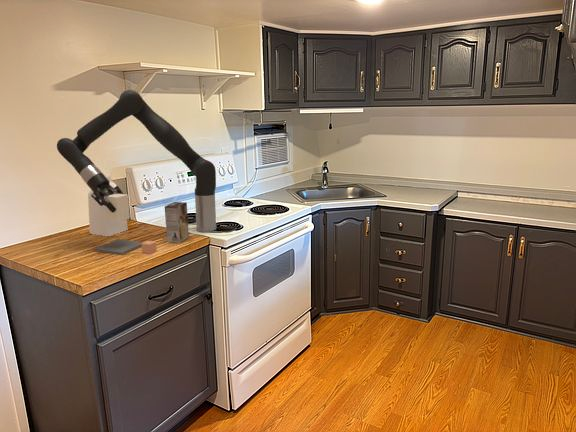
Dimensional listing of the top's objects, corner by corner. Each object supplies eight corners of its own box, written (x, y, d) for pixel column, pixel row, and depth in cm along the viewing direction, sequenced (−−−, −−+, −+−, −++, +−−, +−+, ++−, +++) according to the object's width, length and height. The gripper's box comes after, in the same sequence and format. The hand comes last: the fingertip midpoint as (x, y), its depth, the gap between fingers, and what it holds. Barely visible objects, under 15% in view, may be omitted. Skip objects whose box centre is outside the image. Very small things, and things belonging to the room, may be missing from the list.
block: (142, 252, 177) (141, 243, 176) (148, 250, 181) (147, 240, 180) (150, 254, 176) (149, 244, 175) (156, 251, 180) (155, 241, 179)
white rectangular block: (106, 220, 178) (104, 196, 175) (117, 216, 184) (115, 193, 181) (119, 222, 176) (117, 197, 173) (129, 218, 182) (128, 194, 179)
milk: (110, 227, 214) (104, 174, 208) (128, 230, 209) (123, 175, 203) (89, 233, 203) (83, 177, 197) (108, 236, 199) (102, 179, 192)
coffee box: (175, 236, 200) (173, 201, 196) (189, 237, 198) (187, 202, 194) (166, 242, 191) (164, 206, 187) (180, 243, 190) (178, 206, 186)
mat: (94, 251, 179) (94, 248, 179) (118, 241, 192) (118, 239, 192) (122, 255, 174) (122, 252, 174) (145, 244, 187) (145, 242, 187)
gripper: (85, 174, 171) (113, 207, 170) (111, 170, 184) (137, 200, 183) (76, 187, 174) (103, 219, 173) (102, 181, 187) (127, 211, 186)
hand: (120, 209), depth 178 cm, fingers closed on white rectangular block, 6 cm apart
